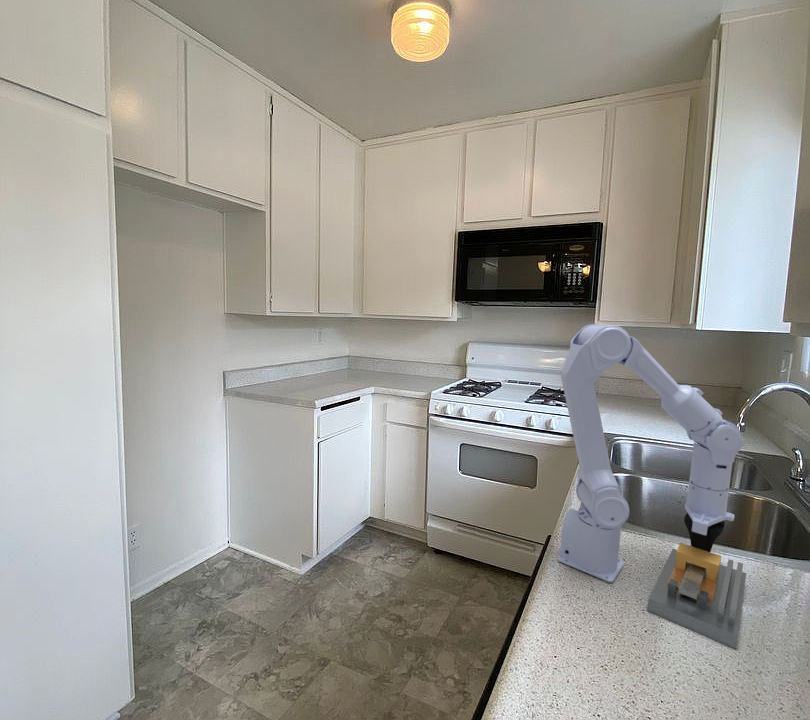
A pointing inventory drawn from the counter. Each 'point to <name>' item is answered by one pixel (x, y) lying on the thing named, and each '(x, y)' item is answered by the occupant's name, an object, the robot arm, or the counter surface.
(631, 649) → the counter surface
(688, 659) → the counter surface
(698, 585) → the strap
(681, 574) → the grey fixture base plate
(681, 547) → the clip
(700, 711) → the counter surface
